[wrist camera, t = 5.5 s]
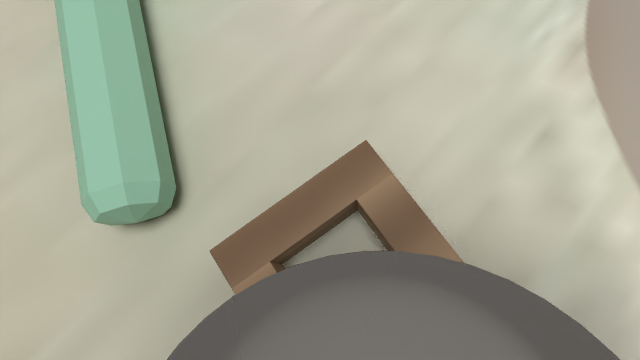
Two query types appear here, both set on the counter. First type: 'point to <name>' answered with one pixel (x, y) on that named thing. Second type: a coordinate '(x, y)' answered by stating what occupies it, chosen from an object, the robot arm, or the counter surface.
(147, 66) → the green faceted rod
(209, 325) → the axle
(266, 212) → the brown square frame
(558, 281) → the counter surface
